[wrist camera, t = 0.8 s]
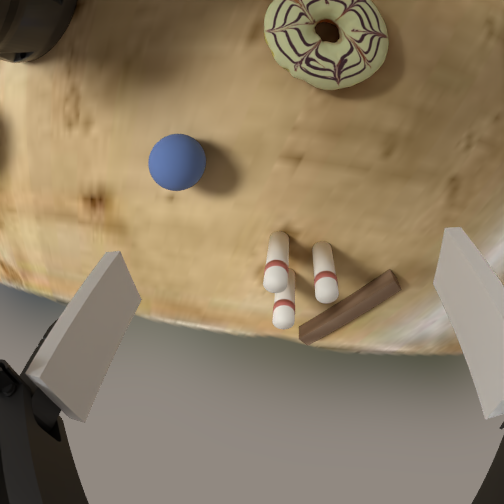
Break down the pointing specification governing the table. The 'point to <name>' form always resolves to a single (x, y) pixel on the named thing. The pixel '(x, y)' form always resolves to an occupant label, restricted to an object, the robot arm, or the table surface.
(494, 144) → the table surface
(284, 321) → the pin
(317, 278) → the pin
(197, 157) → the ball
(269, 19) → the decorated donut
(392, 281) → the rail
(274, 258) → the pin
